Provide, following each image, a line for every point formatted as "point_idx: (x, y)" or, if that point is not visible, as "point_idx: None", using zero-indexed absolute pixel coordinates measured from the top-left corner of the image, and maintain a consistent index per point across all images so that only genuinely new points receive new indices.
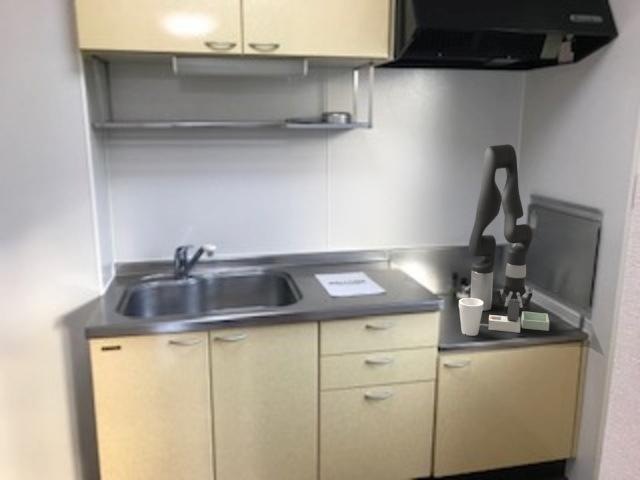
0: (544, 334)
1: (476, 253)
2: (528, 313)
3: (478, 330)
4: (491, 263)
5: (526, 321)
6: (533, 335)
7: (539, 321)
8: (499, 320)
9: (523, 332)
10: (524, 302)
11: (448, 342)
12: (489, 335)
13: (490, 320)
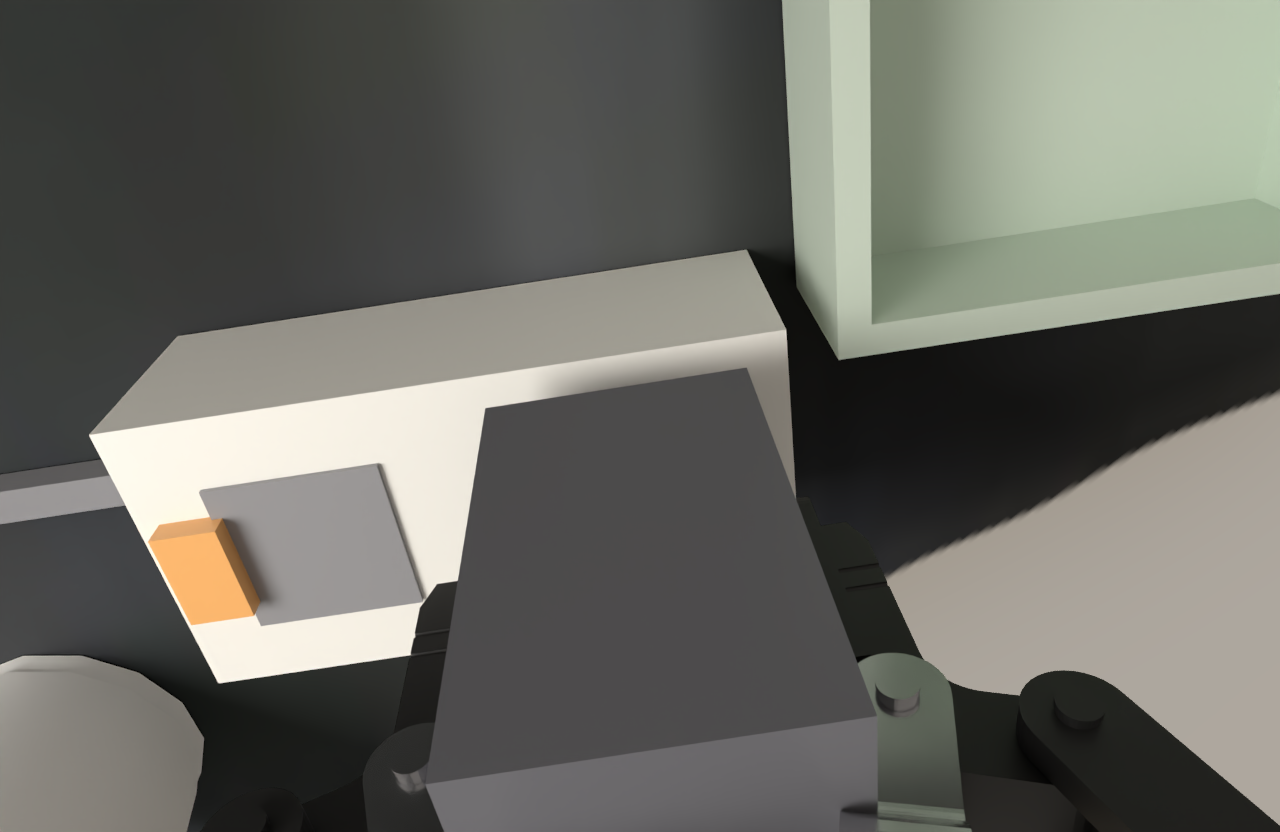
0: (1146, 399)
1: None
2: None
3: (191, 788)
4: None
5: (911, 335)
6: (967, 499)
7: (1191, 298)
8: (403, 622)
9: (820, 452)
10: (1040, 799)
11: None
12: (366, 720)
13: (247, 676)
